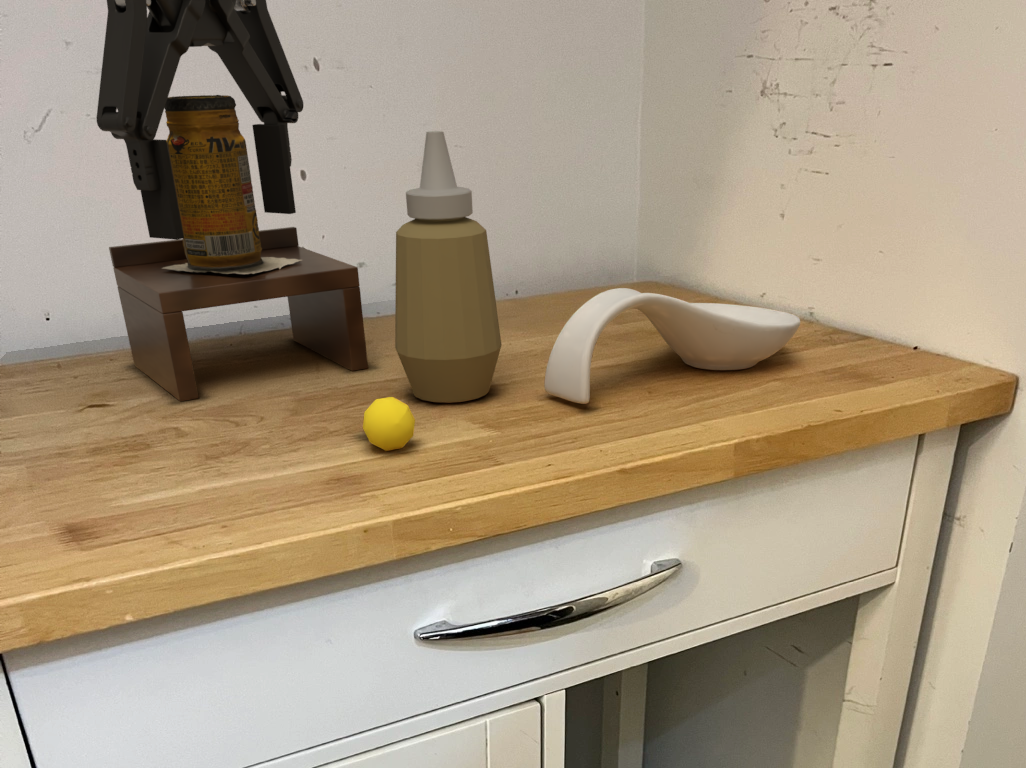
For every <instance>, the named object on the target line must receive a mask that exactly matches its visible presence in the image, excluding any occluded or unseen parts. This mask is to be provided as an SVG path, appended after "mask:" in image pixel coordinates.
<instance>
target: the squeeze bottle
mask: <svg viewBox="0 0 1026 768" xmlns="http://www.w3.org/2000/svg"><path fill="white" fill-rule="evenodd" d="M423 148H424V149H423V158H422V166H421V173H420V182H419V187H416V188H412V189H409V190H406V192H405V199H406V200H405V201H406V214H407V216H408V217H409V218H411V219H412V220H410V221H408V222H406V223H404V224H402V225H401V226H400V227H399V229H397V230H396V231H395V300H394V301H395V304H394V305H395V311H394V312H395V314H394V315H395V317H394V319H395V321H394V322H395V323H394V334H395V335H394V348H395V350H396V354H397V356H398V358H399V361H400V363H401V365H402V366H401V367H402V368H403V370H404V374H405V376H406V378H407V380H408V383H409V385H410V388H411V390H412V394H413V395H414V397H416V398H418V399H419V400H422V401H426V402H433V403H446V404H447V403H450V404H451V403H461V402H462V403H463V402H468V401H472V400H476V399H477V400H478V399H479V398H483V397H484V396H486V395H487V394H488V393H489V392H490V389H491V386H492V381H493V378H494V374H495V370H496V366H497V363H498V359H499V357H500V353H501V348H502V338H501V337H502V336H501V330H500V323H499V316H498V314H499V313H498V308H497V301H496V294H495V293H496V292H495V286H494V285H495V284H494V277H493V271H492V261H491V255H490V248H489V247H490V246H489V240H488V233H487V232H488V231H487V229H486V228H485V227H484V226H483V225H481V224H480V222H478V220H476V219H475V220H474V219H472V218H469V217H470V216H471V215H472V214H473V213H474V211H473V192H472V190H471V189H470V188H469V187H463V186H458V185H457V180H456V176H455V173H454V169H453V165H452V160H451V156H450V151H449V148H448V145H447V141H446V136H445V132H444V131H443V130H433V131H431V130H430V131H426V133H425V141H424V147H423Z"/></svg>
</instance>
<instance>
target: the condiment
mask: <svg viewBox="0 0 1026 768" xmlns="http://www.w3.org/2000/svg"><path fill="white" fill-rule="evenodd" d="M236 106H237V103H236V100H235V98H234V97H232V96H231V95H226V94H225V95H223V94H222V95H221V94H213V95H212V94H210V95H205V94H203V95H201V94H200V95H178V96H177V95H176V96H168V98H167V101H166V105H165V108H164V110H165V111H164V113H165V118H166V122H165V124H166V127H167V128H168V131H169V133H168V135H167V138H166V141H167V146H168V152H169V158H170V163H171V169H172V174H173V180H174V185H175V191H176V197H177V202H178V208H179V213H180V219H181V224H182V230H183V235H184V238H182V239H183V246H184V251H185V255H186V258H187V260H188V263H185V264H181V265H172V266H168V267H164V268H162V269H170V270H177V271H186V272H214V273H222V274H231V273H237V274H255V273H259V272H262V271H269V270H272V269H275V268H279V269H280V268H281V267H283V266H285V265H287V264H293V263H295V262H298V261H301V260H297V259H286V258H275V257H261V250H262V248H261V242H260V236H259V231H260V228H259V221H258V215H257V209H256V201H255V196H254V190H253V189H254V187H253V183H252V175H251V168H250V167H251V166H250V162H249V155H248V148H247V142H246V139H245V137H244V136H243V134H242V133H241V131H240V122H239V121H240V120H239V119H238V116H237V110H236Z"/></svg>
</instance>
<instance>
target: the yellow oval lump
mask: <svg viewBox="0 0 1026 768" xmlns="http://www.w3.org/2000/svg"><path fill="white" fill-rule="evenodd" d="M415 423H416V419H415V417H414V414H413V412H412V410H411V408H410V406H409V405H408V404H406V403H405V402H403V401H401V400H399V399H398V398H396V397H393V396H388V397H382V398H376V399H374V400H373V402H372V403H371V404H370V405H369V406H368V408H367V409H365V411H364V412H363V422H362V430H363V432H364V434H365V436H366V437H367V439H368V442H369V443H371V444H372V445H374V446H376V447H378V448H380V449H382V450H384V452H388V451H393V450H398V449H402V448H404V447H405V445H407V443H409V441H410V440H411V439H412V438H413V436H414V434H415V425H416V424H415Z"/></svg>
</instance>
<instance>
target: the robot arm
mask: <svg viewBox="0 0 1026 768" xmlns="http://www.w3.org/2000/svg"><path fill="white" fill-rule="evenodd" d="M106 5H107V7H106V8H107V15H106V16H107V18H106V24H105V25H106V26H105V27H106V28H105V36H104V43H103V54H102V63H101V71H100V72H101V73H100V82H99V91H98V99H97V109H96V124H97V126H98V128H99V129H100V130H101V131H102V132H110V133H111V136H112V137H113V138H114V139H115V140H123V141H124V143H125V146H126V151H127V156H128V161H129V167H130V172H131V176H132V182H133V185H134V186H135V189H136V190H137V191H140V195H141V200H142V205H143V210H144V211H143V212H144V215H145V220H146V225H147V230H148V236H149V238H151V239H164V240H178V239H183V238H184V235H183V230H182V224H181V219H180V213H179V208H178V202H177V197H176V191H175V185H174V180H173V174H172V169H171V163H170V158H169V152H168V146H167V139H156V136H157V133H158V130H159V126H160V123H161V120H162V117H163V113H164V112H165V111H164V110H165V109H164V108H165V105H166V101H167V98H168V97H169V95H170V91H171V89H172V85H173V83H174V79H175V76H176V73H177V70H178V66H179V64H180V60H181V58H182V56H183V55H185V54H186V53H187V52H188V51H189V48H196V47H197V48H199V47H208V49H209V50H211V51H212V52H214V53H215V54H217V56H218V57H219V59H220V60H221V62H222V64H223V65H224V66H225V68H226V69H227V71H228V73H229V74H230V75H231V77H232V79H233V80H234V82H235V83H236V85H237V87H238V88H239V89H240V91H241V93H242V94H243V96H244V98H245V99H246V101H247V102H248V104H249V105H250V107H251V108H252V110H253V112H254V113H255V115H256V116H257V118H258V119H259V121H260V122H261V123H255V124H252V125H251V127H252V133H253V139H254V148H255V154H256V161H257V167H258V168H257V169H258V176H259V182H260V183H259V184H260V189H261V196H262V203H263V211H264V213H267V214H282V215H293V214H296V213H297V210H296V204H295V203H296V202H295V195H294V188H293V180H292V171H291V167H292V161H293V159H292V153H291V144H290V136H289V128H288V124H296V123H298V122H299V121H298V120H299V113H302V111H303V110H304V100H303V98H302V94H301V92H300V89H299V87H298V84H297V82H296V79H295V77H294V74H293V72H292V68H291V66H290V64H289V61H288V58H287V56H286V53H285V51H284V48H283V45H282V44H281V40H280V37H279V35H278V32H277V30H276V28H275V25H274V22H273V20H272V17H271V15H270V12H269V9H268V5H267V0H106ZM282 93H284V94H282Z"/></svg>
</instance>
